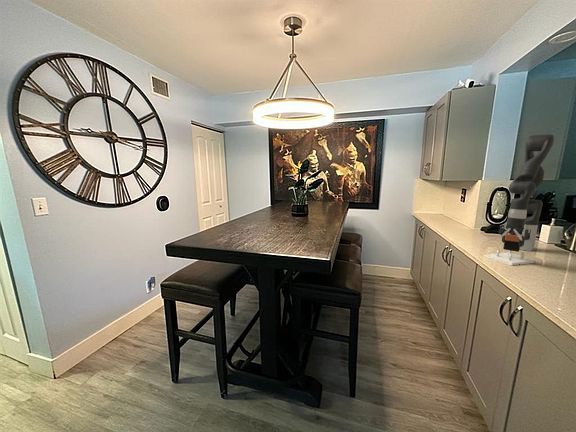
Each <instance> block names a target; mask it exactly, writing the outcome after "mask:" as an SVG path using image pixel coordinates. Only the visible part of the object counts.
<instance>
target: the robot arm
mask: <svg viewBox="0 0 576 432" xmlns="http://www.w3.org/2000/svg"><path fill="white" fill-rule="evenodd" d="M554 142H555V136H554V135H553V134H549V133H548V134H532V135H528V136H527V138H526V141H525V145H524V164H523V165H522V166H521V168H520V171H519V173H518V175H517V176H516V177H515V178H514V179H513V180H512V181H511V183H510V184H509V186H508V191H509V193H511V194H515V195H520V197H514V198H512V199H511V201H510V205H509V210H508V213H507V218H506V224H500V225H499V229H498V230H499V231H498V235H500V236H501V242H502V243H503V244H504V241H505V235H506V234H508V233H511V234H514V235H517V236H518V237H519V239H520V240H519V245H518V246H519V247H520V249H519V251H520V250H521V251H526V252H527V251H528V252H531V251H534V249H535V246H536V245H535V244H536V239H537V233H538V227H539V222H540V221H539V220H540V217H541V214H542V210H543V201H542V200H540V199H531V197H532V195H533V193H534V192H535V190H536V189H537V188H539V187H540V186H541V184H543V182H544V179H545V178H544V176H545V170H544V168H543V167H542V163H543V162H544V161H545V159H546V157H547V156H548V155H549V152H550V151H551V149H552V147H553V145H554ZM534 152H538V153H537V154H536V155H535V154H534ZM527 214H530V215H531V214H532V215H531V216H527ZM521 236H522V237H521Z"/></svg>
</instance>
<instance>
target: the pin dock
mask: <svg viewBox="0 0 576 432" xmlns="http://www.w3.org/2000/svg"><path fill="white" fill-rule="evenodd" d="M485 258H488V259H490V260H493V261H496V262H500V263H503V264H505V265H509V266H511V265H512V266H520V265H526V264H534V263H536V259H533V258H532V259H531V258H529V257H526V256H525V252H521V255H518V254H516V253H512V251H510V250H508V252H500V250H499V249H497V250H496V253H488V254H485ZM519 264H520V265H519Z"/></svg>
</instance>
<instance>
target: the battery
mask: <svg viewBox="0 0 576 432" xmlns="http://www.w3.org/2000/svg"><path fill="white" fill-rule="evenodd" d="M521 237H522V236H521ZM519 240H520V239H519V237H518V236H517V235H514V234H511V233H508V234H506V235H505V241H504V243H503V250H505V251H509V250H510V251H511V252H517V253H518V252H520V247H519V246H518V245H519Z"/></svg>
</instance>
